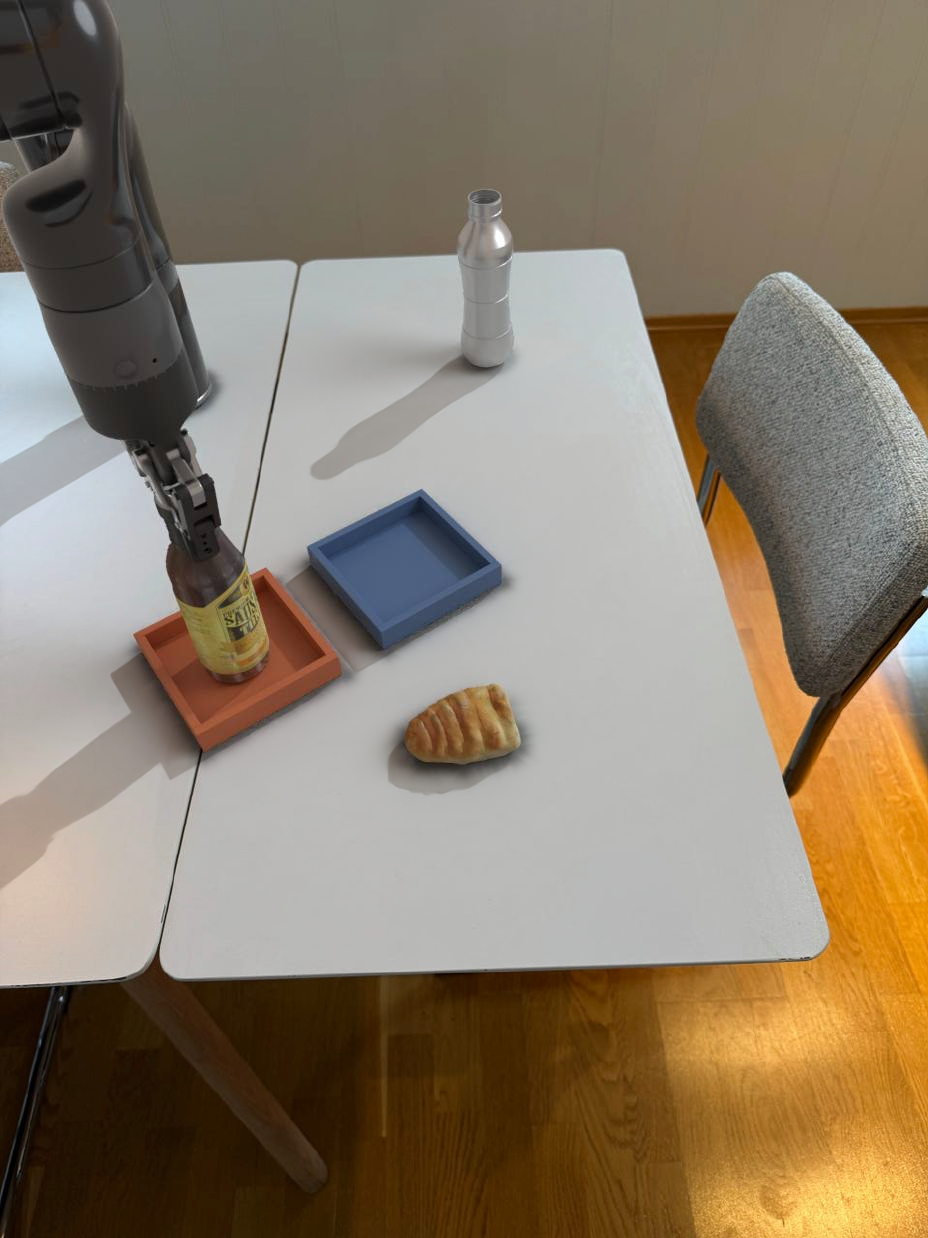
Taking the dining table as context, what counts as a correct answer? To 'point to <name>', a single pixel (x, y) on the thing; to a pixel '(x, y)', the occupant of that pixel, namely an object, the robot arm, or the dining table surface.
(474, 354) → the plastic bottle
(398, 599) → the blue tray
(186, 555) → the sauce bottle
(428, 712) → the pastry
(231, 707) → the terracotta tray
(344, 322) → the dining table surface
